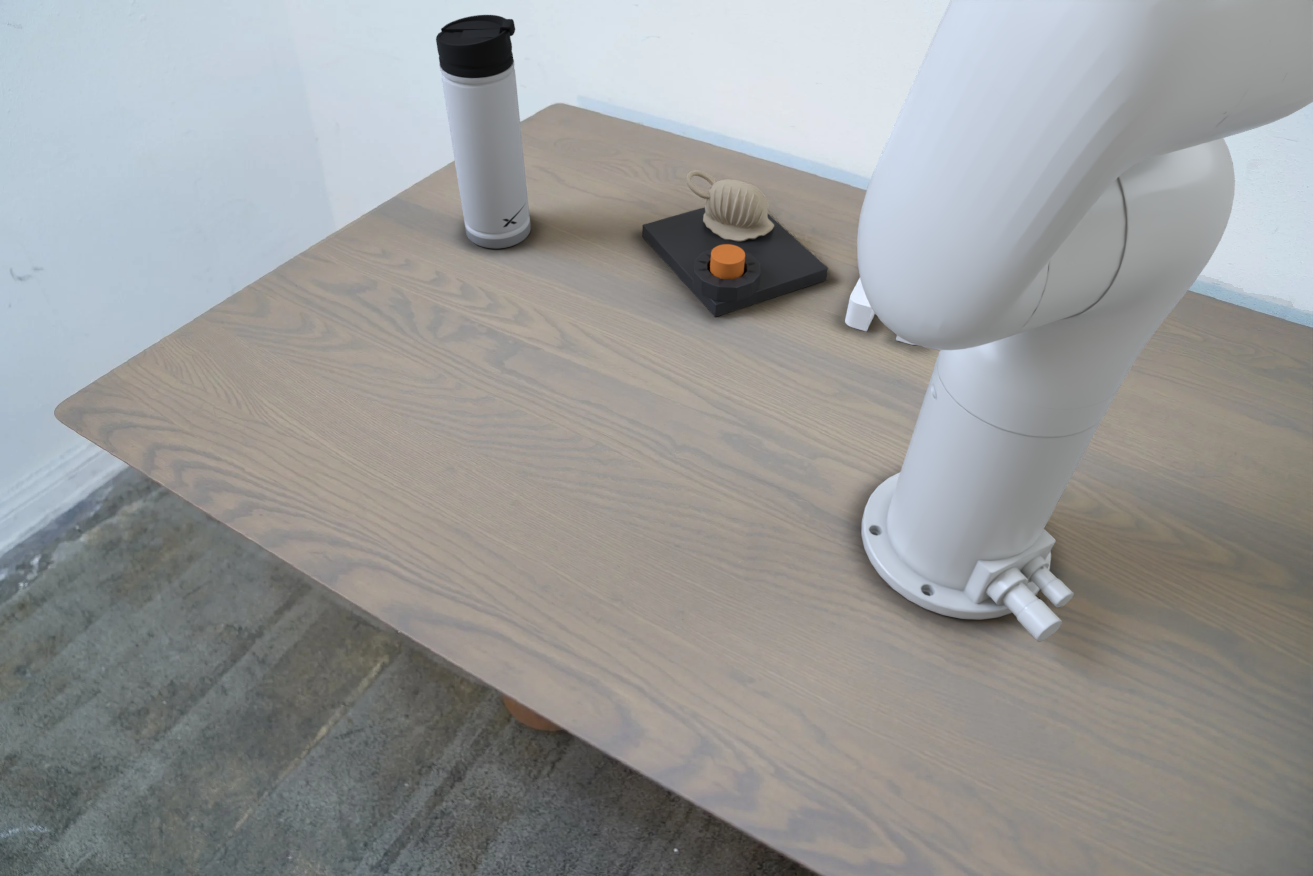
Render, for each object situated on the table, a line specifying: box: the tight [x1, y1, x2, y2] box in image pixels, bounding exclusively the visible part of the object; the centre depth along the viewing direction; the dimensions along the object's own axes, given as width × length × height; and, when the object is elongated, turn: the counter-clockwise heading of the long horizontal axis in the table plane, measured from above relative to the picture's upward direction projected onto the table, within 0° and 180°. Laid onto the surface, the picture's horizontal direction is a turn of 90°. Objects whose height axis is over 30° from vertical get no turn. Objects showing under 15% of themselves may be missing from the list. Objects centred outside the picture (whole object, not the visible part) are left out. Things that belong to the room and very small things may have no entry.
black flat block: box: [641, 206, 829, 318], centre depth 84 cm, size 14×12×3 cm
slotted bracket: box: [844, 277, 917, 346], centre depth 79 cm, size 13×7×8 cm, turn 155°
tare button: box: [710, 244, 745, 279], centre depth 79 cm, size 3×3×2 cm
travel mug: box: [435, 14, 531, 249], centre depth 81 cm, size 6×7×20 cm
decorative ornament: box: [685, 169, 774, 242], centre depth 85 cm, size 4×8×5 cm, turn 67°
